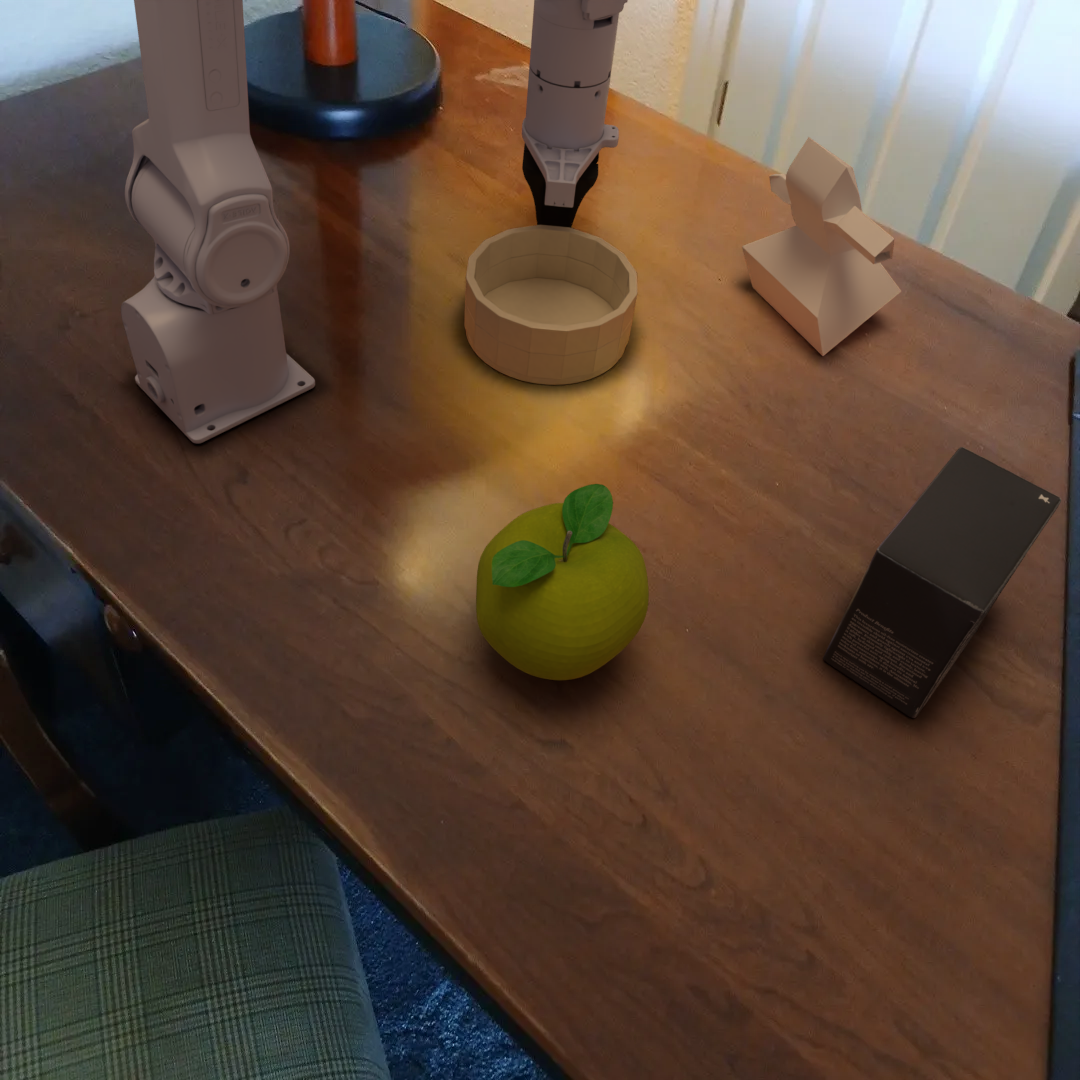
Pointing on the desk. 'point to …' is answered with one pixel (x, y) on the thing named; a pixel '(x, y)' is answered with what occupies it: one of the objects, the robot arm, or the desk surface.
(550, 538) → the fruit
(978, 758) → the desk surface
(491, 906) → the desk surface
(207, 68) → the robot arm
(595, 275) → the bowl
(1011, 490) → the small box
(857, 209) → the beige block sculpture
